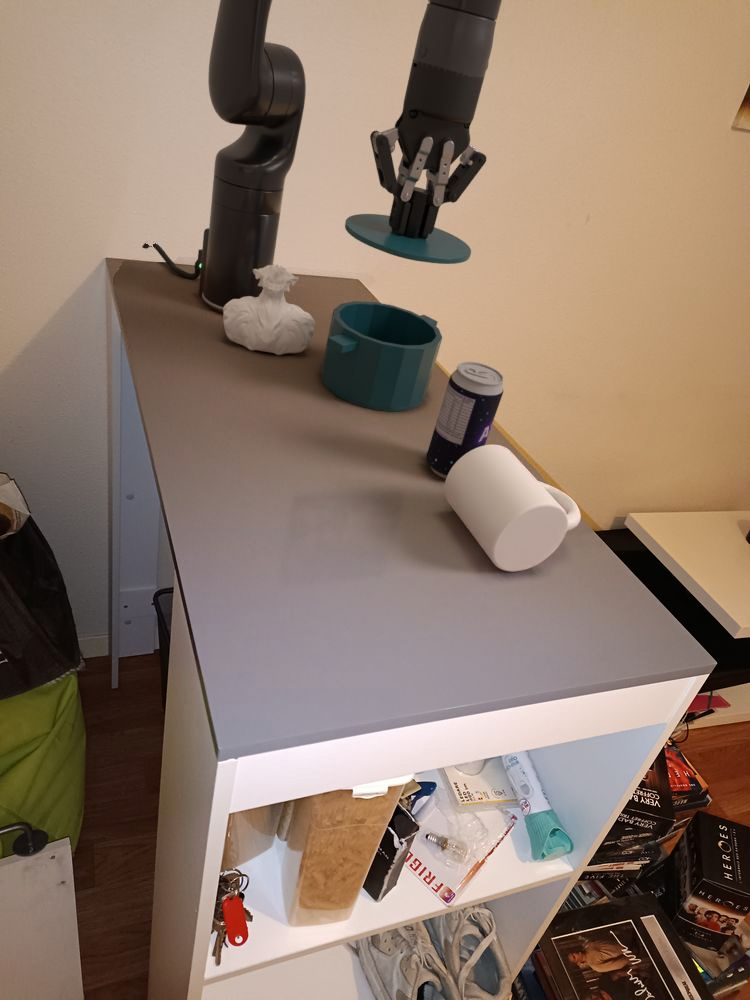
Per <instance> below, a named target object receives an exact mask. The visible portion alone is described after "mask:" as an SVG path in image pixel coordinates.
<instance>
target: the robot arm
mask: <svg viewBox="0 0 750 1000" xmlns="http://www.w3.org/2000/svg"><path fill="white" fill-rule="evenodd" d="M427 2H428V3H426V8H425V11H424V15H423V17H422V20H421V23H420V26H419V29H418V33H417V38H416V43H415V48H414V51H413V57H412V62H411V65H410V70H409V75H408V80H407V83H406V84H407V85H406V90H405V94H404V98H403V104H402V112H401V114H400V116H399V117H398V119H396V121H395V124H394V126H393V127H392V128H389V129H386V130H382V131H379V130H373V131H371V133H370V135H369V139H370V143H371V148H372V153H373V158H374V162H375V167H376V172H377V176H378V181H379V185H380V186H381V187H382V189H385V190H386V191H387V192H388V193H389V194H392V197H393V199H392V203H391V208H390V212H389V216H390V217H389V226H390V227H392V231H393V232H394V233H395V234H396V235H399V236H403V235H404V231H405V227H406V223H407V219H408V214H409V210H410V206H411V203H410V202H409V200H410V198H411V196H412V193H413V190H414V187H416V184H417V182H419V181H420V179H421V175H422V173H423V171H425V177H426V184H425V190H428V191H429V192H430V196H429V200H428V204H427V208H426V212H425V216H424V220H423V224H422V228H421V232H420V236H419V237H420V238H423V239H427V237H428V234H431V233H432V232H433V230H434V227H436V221H437V218H438V215H439V210H440V208H441V206H442V205H444V204H447V203H453V204H454V203H457V202H458V200H459V199H460V198H461V196H462V194H464V192H465V191H466V190H467V188H468V187H469V185H471V183H472V182H473V180H474V179H475V178H476V176H477V175H478V173H479V172H480V171H481V169H482V168H483V166H484V165H485V164H486V162H487V155H485V154H484V153H483V152H481V151H479V150H477V149H476V147H474V146H473V145H472V144H471V134H470V127H471V124H472V122H473V121H474V119H475V115H476V110H477V106H478V103H479V99H480V95H481V91H482V88H483V83H484V80H485V76H486V72H487V70H488V67H489V62H490V57H491V53H492V49H493V43H494V37H495V30H496V25H497V20H498V17H499V13H500V9H501V5H502V2H503V0H427ZM272 3H273V0H219V5H218V11H217V17H216V21H215V27H214V32H213V37H212V42H211V43H212V44H211V49H210V54H209V63H208V80H207V81H208V82H207V83H208V94H209V98H210V102H211V105H212V108H213V109H214V111H215V113H216V115H217V116H218V117H219V118H220V119H221V120H222V121H224V122H226V123H228V124H231V125H238V126H245V127H244V130H243V132H242V133H241V135H240V136H239V137H238V138H237V139H236V140H235V141H233V142H231V143H230V144H229V145H227V146H225V147H222V148H221V149H220V150H219V151H218V152H217V153H216V155H215V158H214V159H215V160H214V167H213V168H214V169H213V181H212V192H211V204H210V214H209V225H208V228H207V227H206V228H205V229H204V230H203V239H202V248H201V249H200V248H199V249H198V252H197V259H196V261H195V262H194V272H193V273H190V272H187V271H185V270H183V269H181V268H179V267H178V266H177V265H176V264H175V263H174V261H173V260H172V259H171V258H170V256H169V255H168V254H167V252H166V251H165V250H164V249H163V248H162V246H160V245H159V244H158V243H157V242H155V244H153V247H154V248H153V247H152V246H149V245H148V244H146V242H145V243H143V245H142V247H141V248H142V249H144V250H145V249H146V250H148V249H149V248H153V249H155V250H156V251H157V252H158V254H159V256H161V258H162V260H163V261H164V262H165V263H166V264H167V266H169V268H170V270H171V271H172V272H174V273H175V274H178V275H179V276H181V277H183V278H185V279H187V280H188V279H189V280H196V279H198V278H199V284H198V296H200V297H201V301H202V303H203V304H204V305H205V306H206V307H208V308H210V309H211V310H212V311H216V312H218V313H220V314H221V313H222V314H223V313H224V311H223V307H224V306H225V305H226V304H227V303H228V302H229V301H231V300H232V299H240V298H242V297H246V296H252V297H259V295H260V294H261V293H262V290H263V287H262V286H258V284H259V282H260V278H259V279H256V278H255V277H256V276H255V274H254V273H253V269H257V270H258V269H260V268H264V267H266V266H267V265H273V264H274V262H275V253H276V249H277V248H276V247H277V239H278V232H279V226H280V218H281V211H282V204H283V197H284V191H285V183H286V179H287V175H288V174H289V172H290V171H291V169H292V166H293V164H294V160H295V157H296V151H297V146H298V141H299V136H300V131H301V127H302V121H303V115H304V111H305V110H304V109H305V104H306V96H307V95H306V93H307V91H306V90H307V83H306V74H305V68H304V66H303V62H302V61H301V58H300V57H299V55H298V54H297V53H296V52H295V51H294V50H293V49H292V48H290V47H288V46H286V45H283V44H279V43H275V42H267V41H266V35H267V29H268V23H269V18H270V12H271V7H272ZM396 142H398V145H399V148H400V152H401V154H402V156H401V159H400V162H399V166H398V169H397V172H398V173H397V176H396V171H395V166H394V160H393V156H392V153H394V151H395V150H396ZM458 158H459V164H457V166H456V168H455V169H453V172H452V173H451V174H450V171H451V166H452V164H454V163H455V161H456V160H457V159H458ZM156 243H157V244H156Z"/></svg>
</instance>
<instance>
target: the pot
mask: <svg viewBox="0 0 750 1000" xmlns="http://www.w3.org/2000/svg"><path fill="white" fill-rule="evenodd" d="M438 323H439V322H438V321H437V320H436V319H434V318H431V317H430V316H429V315H426V314H422V315H419V314H418V313H415V312H413V311H411V310H409V309H406V308H401V307H400V306H396V305H392V304H386V303H381V302H376V301H359V300H358V301H357V300H354V301H349V302H342V303H340V304H339V305H337V306H336V307H335V308H334V309H333V310H332V313H331V319H330V324H329V330H328V335H327V339H326V346H325V350H324V356H323V361H322V366H321V380H322V383H323V384H324V386H325V387H326V388H327V389H328V390H329V391H330V392H331V393H333V394H334V395H336V396H337V397H338V398H340V399H342V400H345V401H346V402H348V403H351V404H354V405H356V406H359V407H362V408H365V409H371V410H375V411H383V412H405V411H410V410H413V409H415V408H418V407H419V406H420V405H421V404H422V403H423V402H424V400H425V397H426V396H427V394H428V393H427V392H428V389H429V385H430V383H431V379H432V375H433V372H434V368H435V365H436V361H437V359H438V355H439V352H440V348H441V344H442V341H443V335H442V333H441V331H440V328H438V327H437V326H438Z"/></svg>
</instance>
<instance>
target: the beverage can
mask: <svg viewBox="0 0 750 1000" xmlns="http://www.w3.org/2000/svg"><path fill="white" fill-rule="evenodd" d="M503 382H504V376H503V375H502V373H501V372H500V371H498V370H497V369H495V368H494V367H492V366H489V365H487V364H485V363H480V362H476V361H463V362H459V364H457V366H456V369H455V370H454V371H453V372H452V373H451V374H450V376H449V380H448V383H447V385H446V390H445V392H444V396H443V399H442V403H441V405H440V409H439V412H438V416H437V419H436V422H435V425H434V429H433V432H432V435H431V439H430V442H429V446H428V449H427V453H426V455H425V459H426V462H427V463H428V465H429V466H430V468H431V469H430V470H431V471H432V472H433V473H434V474H435V475H437V476H438V477H441V478H443V479H445V480H446V478H447V475H448V473H449V471H450V470H451V468H452V467H453V465H454V464H455V463H456V462H457V461H458V460H459V459H460V458H461V457H462V456H463V455H465V454H466V453H468V452H469V451H471V450H473V449H475V448H478V447H480V446H484V445H486V444H487V443H486V442H487V440H488V437H489V434H490V431H491V429H492V426H493V423H494V420H495V417H496V415H497V412H498V409H499V406H500V403H501V400H502V397H503V394H504V386H503Z"/></svg>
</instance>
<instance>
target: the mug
mask: <svg viewBox="0 0 750 1000" xmlns="http://www.w3.org/2000/svg"><path fill="white" fill-rule="evenodd" d="M443 492H444V497H445V499H446V501H447V503H448V504H449V505H450V506H451V508H452V509H453V511H454V512H455V513H456V515H457V516H458V518H459V519H460V520H461V522H462V523H463V524H464V526H465V527H466V528H467V530H468V531H469V532H470V533H471V535H472V536H473V537H474V540H476V542H477V543H478V545H479V546H480V547H481V549H483V551H484V552H485V554H486V555H487V556H488V558H489V559H490V561H491V562H492V563H493V565H494V566H496V568H498V569H500V570H501V571H505V572H513V573H515V572H521V571H522V572H523V571H525V570H528V569H532V568H533V567H535V566H537V565H539V564H541V563H543V561H545V560H546V559H548V557H550V556H552V554H554V552H555V551H556V550H557V549H558V548H559V546H560V545H561V544H562V542H563V540H564V538H565V537H566V535H567V532H568V531H572V530H573V529H575V528H576V527H578V525H579V524H580V522H581V519H582V518H581V517H582V516H581V511H580V508H579V507H578V504H577V503H576V502H575V500H574V499H573V498H572V497H570V495H568V494H566V493H565V492H564V491H562V490H560V489H558V488H556V487H554V486H552V485H550V484H548V483H545V482H542V481H539V480H537V478H536V477H535V476H534V475H533V473H531V472H530V471H529V470H528V468H527V467H526V466H525V465H524V464H523V463H522V462H521V461H520V459H518V458H517V456H516V455H515V454H514V453H513V452H512V451H511V450H510V449H509V448H507V447H505V446H503V445H500V444H485V445H484V446H480V447H478V448H475V449H473V450H471V451H469V452H468V453H466V454H465V455H463V456H462V457H461V458H460V459H459V460H458V461H457V462H456V463H455V464H454V465H453V467H452V468H451V470H450V471H449V473H448V475H447V478H446V479H445V481H444V491H443Z"/></svg>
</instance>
